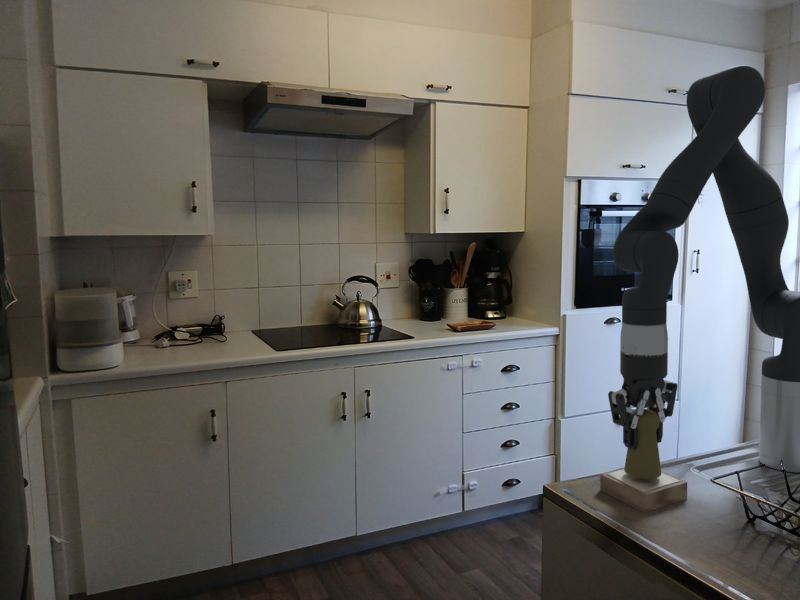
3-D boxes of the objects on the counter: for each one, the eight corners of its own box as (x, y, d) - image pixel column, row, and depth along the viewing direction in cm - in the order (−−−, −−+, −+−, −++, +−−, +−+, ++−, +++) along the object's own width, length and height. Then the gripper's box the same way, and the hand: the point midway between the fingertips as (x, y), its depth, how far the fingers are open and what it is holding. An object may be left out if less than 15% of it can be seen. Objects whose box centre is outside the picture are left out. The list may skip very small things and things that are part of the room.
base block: (641, 477, 114) (641, 461, 114) (686, 498, 105) (687, 481, 105) (600, 489, 110) (600, 473, 110) (643, 512, 101) (643, 494, 101)
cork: (656, 481, 103) (657, 418, 102) (619, 473, 107) (620, 412, 105) (665, 469, 108) (666, 408, 106) (630, 462, 111) (631, 403, 110)
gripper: (657, 340, 111) (656, 431, 113) (595, 350, 105) (595, 445, 107) (692, 347, 104) (690, 443, 106) (628, 358, 98) (628, 460, 100)
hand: (642, 444), depth 107 cm, fingers closed on cork, 5 cm apart
